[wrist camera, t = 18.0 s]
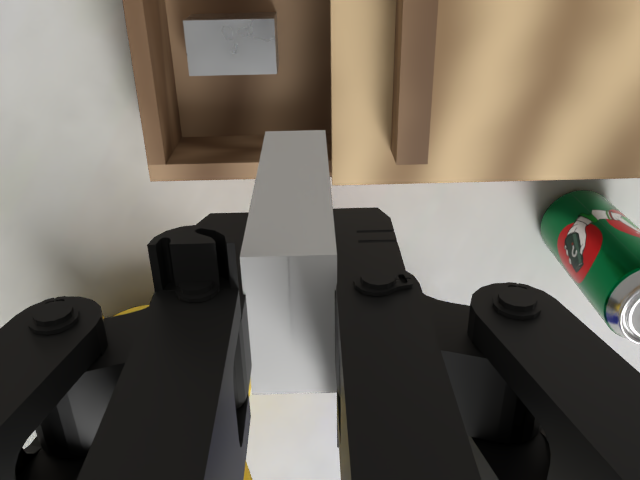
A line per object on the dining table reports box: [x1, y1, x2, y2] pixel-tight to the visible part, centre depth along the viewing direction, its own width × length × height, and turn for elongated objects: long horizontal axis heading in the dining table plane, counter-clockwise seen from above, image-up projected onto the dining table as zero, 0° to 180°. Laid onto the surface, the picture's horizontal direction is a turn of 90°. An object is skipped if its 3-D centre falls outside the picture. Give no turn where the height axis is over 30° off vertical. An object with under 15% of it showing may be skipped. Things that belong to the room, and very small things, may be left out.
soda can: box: [541, 190, 640, 344], centre depth 38 cm, size 5×5×12 cm
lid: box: [330, 0, 640, 185], centre depth 30 cm, size 22×14×3 cm, turn 91°
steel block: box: [183, 12, 279, 76], centre depth 35 cm, size 5×3×3 cm, turn 91°
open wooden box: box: [122, 0, 332, 181], centre depth 35 cm, size 22×14×6 cm, turn 91°
